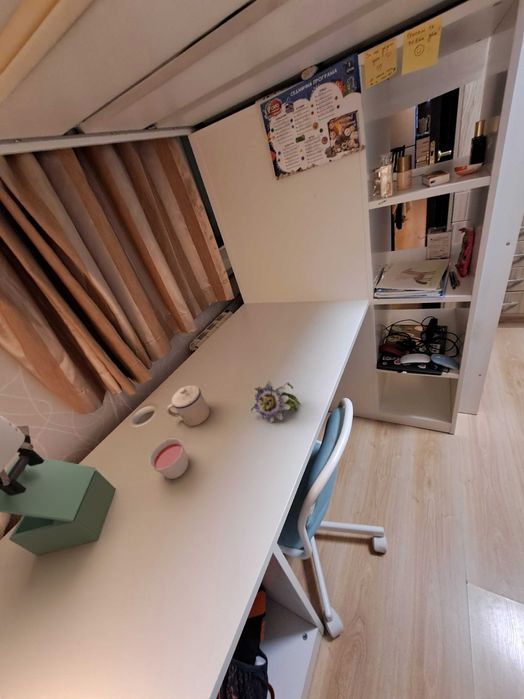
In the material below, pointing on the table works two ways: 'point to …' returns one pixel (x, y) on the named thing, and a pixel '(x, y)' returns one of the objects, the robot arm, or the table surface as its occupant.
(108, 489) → the green box
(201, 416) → the teacup with lid
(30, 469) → the lid
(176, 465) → the candle
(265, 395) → the passion flower
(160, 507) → the table surface
